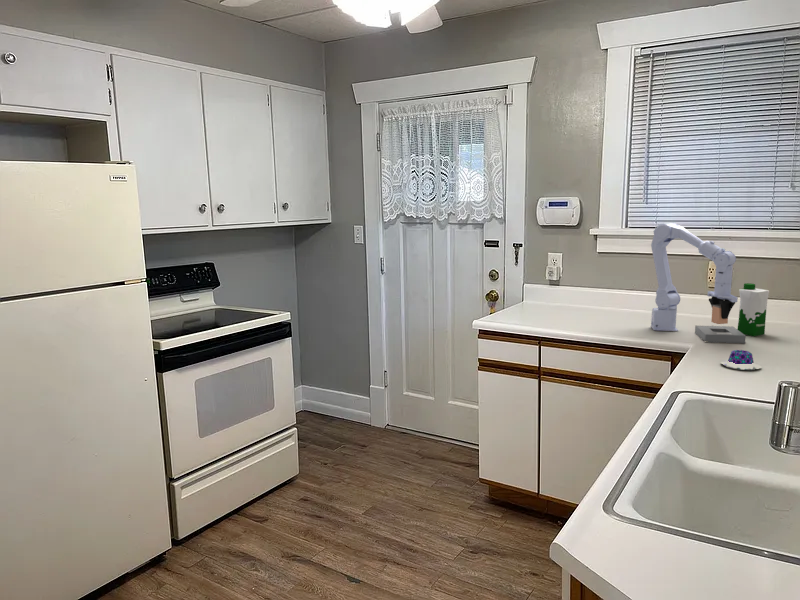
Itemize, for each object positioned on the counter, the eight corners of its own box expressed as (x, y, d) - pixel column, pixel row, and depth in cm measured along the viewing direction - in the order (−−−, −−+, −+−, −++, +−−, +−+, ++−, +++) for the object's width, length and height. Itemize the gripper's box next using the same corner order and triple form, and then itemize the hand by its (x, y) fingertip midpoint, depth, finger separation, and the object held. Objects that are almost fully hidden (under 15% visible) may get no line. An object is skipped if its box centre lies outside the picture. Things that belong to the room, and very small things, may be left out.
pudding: (712, 366, 201) (714, 351, 200) (730, 360, 208) (731, 345, 207) (751, 374, 192) (752, 358, 191) (767, 367, 199) (769, 352, 198)
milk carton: (746, 330, 250) (750, 282, 246) (768, 334, 242) (773, 285, 238) (733, 333, 246) (737, 284, 242) (754, 337, 238) (759, 287, 234)
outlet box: (704, 342, 232) (705, 333, 232) (694, 332, 248) (695, 324, 247) (745, 343, 229) (745, 335, 228) (732, 333, 244) (733, 326, 244)
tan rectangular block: (718, 324, 235) (719, 306, 234) (711, 322, 239) (712, 304, 238) (727, 323, 236) (728, 305, 234) (720, 321, 239) (721, 304, 238)
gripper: (701, 280, 241) (699, 314, 243) (726, 286, 227) (724, 321, 229) (717, 280, 242) (715, 313, 244) (743, 285, 228) (740, 320, 230)
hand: (720, 317), depth 237 cm, fingers closed on tan rectangular block, 4 cm apart
